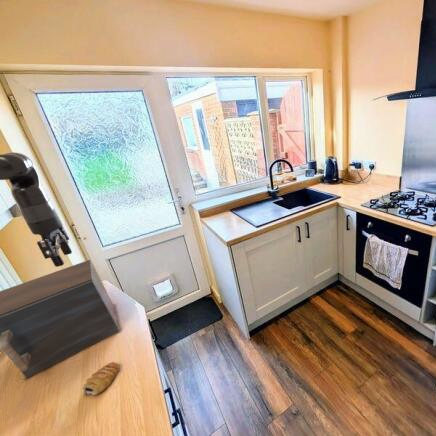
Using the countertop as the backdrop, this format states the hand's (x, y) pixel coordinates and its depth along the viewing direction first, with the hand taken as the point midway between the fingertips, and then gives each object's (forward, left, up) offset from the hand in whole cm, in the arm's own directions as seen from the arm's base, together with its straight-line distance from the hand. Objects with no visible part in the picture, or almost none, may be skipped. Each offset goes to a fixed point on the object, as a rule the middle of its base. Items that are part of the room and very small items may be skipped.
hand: (64, 259), depth 85 cm
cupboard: (-6, +6, -32) cm, 33 cm away
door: (-13, -5, -32) cm, 35 cm away
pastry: (-16, -23, -32) cm, 43 cm away
